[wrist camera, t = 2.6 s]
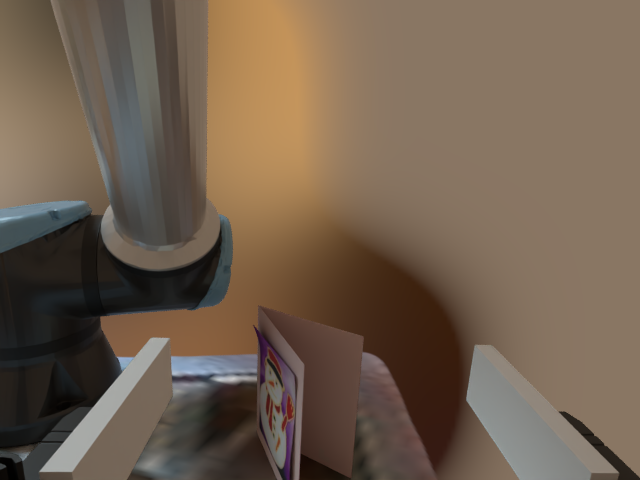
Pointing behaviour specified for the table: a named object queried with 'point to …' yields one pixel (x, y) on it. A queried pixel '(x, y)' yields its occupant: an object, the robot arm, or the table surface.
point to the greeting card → (306, 392)
